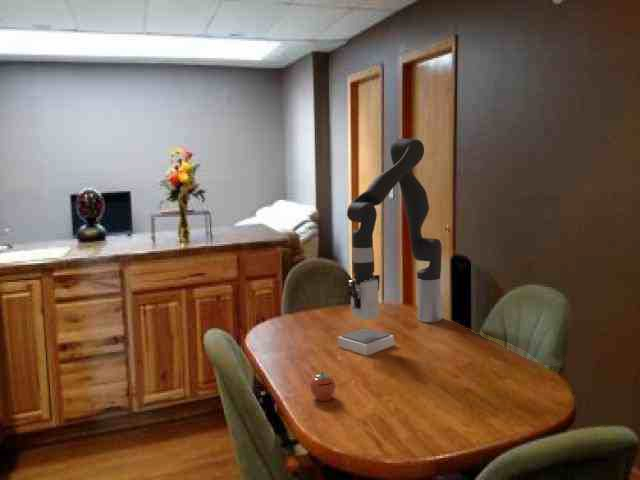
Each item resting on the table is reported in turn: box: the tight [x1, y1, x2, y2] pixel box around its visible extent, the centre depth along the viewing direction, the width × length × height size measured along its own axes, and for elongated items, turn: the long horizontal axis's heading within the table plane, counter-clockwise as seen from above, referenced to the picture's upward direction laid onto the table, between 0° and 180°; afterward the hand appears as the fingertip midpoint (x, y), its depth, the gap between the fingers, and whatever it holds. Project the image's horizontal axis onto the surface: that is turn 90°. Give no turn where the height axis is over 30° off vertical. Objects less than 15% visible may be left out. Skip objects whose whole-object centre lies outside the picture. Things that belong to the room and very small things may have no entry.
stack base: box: [337, 327, 395, 356], centre depth 204 cm, size 14×14×4 cm
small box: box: [350, 280, 380, 321], centre depth 202 cm, size 8×6×13 cm
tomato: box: [309, 370, 337, 402], centre depth 161 cm, size 7×7×8 cm
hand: (364, 306), depth 202 cm, fingers closed on small box, 6 cm apart
